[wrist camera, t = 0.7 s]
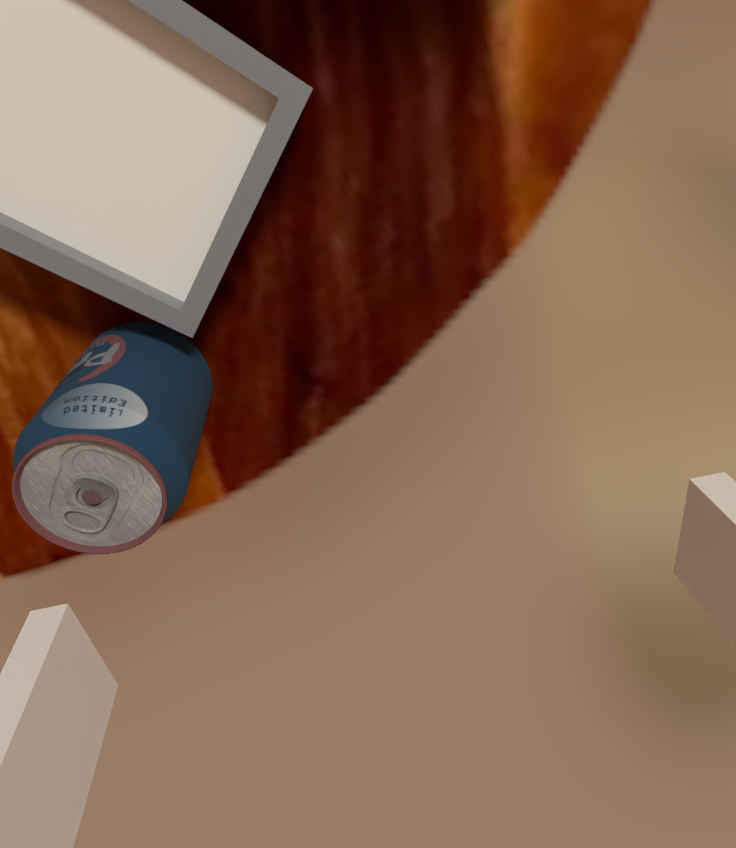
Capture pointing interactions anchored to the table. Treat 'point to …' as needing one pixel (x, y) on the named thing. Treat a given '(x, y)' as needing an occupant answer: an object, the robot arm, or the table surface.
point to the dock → (135, 146)
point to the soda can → (114, 441)
